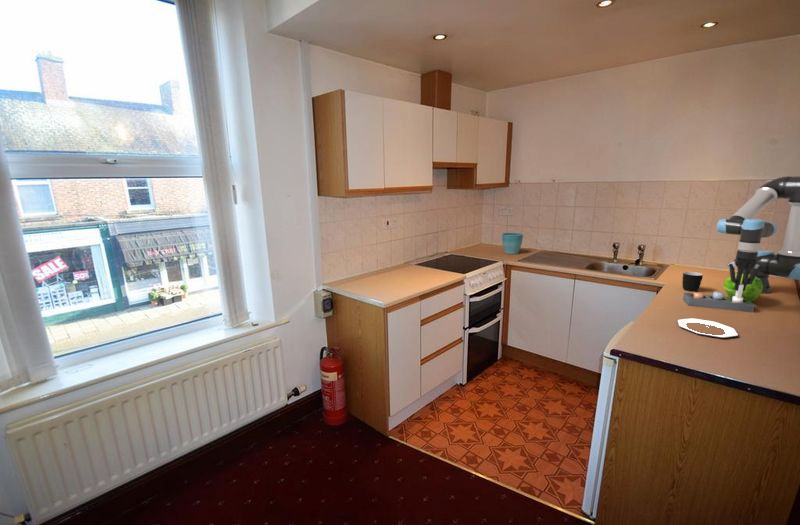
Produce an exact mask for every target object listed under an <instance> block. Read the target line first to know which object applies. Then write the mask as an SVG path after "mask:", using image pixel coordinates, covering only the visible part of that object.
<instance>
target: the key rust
mask: <svg viewBox="0 0 800 525" xmlns="http://www.w3.org/2000/svg"><path fill="white" fill-rule="evenodd" d="M693 294H694V296H693V297H696V298H703V296H704V295H705V293H703V292H698V291H696V292H693Z"/></svg>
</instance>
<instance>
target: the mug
mask: <svg viewBox="0 0 800 525" xmlns="http://www.w3.org/2000/svg"><path fill="white" fill-rule="evenodd" d="M703 276H704V274H703V273H701V272H696V271H684V272H683V273H682V283H681V284H682V288H683V290H684V291H686V292H692V293H694V292H698V291H699V288H700V287H701V284H702V281H703Z"/></svg>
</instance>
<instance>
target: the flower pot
mask: <svg viewBox="0 0 800 525" xmlns="http://www.w3.org/2000/svg"><path fill="white" fill-rule="evenodd" d="M523 238H524V233H519V232H504V233H503V232H502V233H501V240H502V246H503V249H504V254H507V255H510V254H511V255H517V254H519V253H520V249H521V246H522V244H523Z"/></svg>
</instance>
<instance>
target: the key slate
mask: <svg viewBox="0 0 800 525" xmlns="http://www.w3.org/2000/svg"><path fill="white" fill-rule="evenodd" d="M712 295H713V298H712V299H717V300H723V296H724V295H725V293H724V292H720V291H713V293H712Z"/></svg>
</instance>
